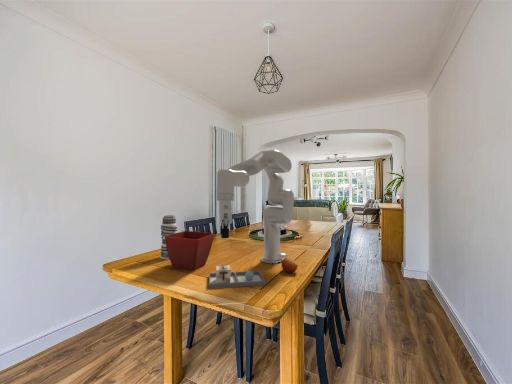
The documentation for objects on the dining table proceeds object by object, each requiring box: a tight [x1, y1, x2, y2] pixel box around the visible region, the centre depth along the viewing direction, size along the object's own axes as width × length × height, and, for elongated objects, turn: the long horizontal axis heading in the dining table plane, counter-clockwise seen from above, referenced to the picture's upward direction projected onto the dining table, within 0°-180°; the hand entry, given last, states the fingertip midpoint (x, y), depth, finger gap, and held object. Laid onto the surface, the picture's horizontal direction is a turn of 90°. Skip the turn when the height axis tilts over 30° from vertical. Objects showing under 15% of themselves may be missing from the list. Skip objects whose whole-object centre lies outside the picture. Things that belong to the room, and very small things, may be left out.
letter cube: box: [215, 264, 232, 283], centre depth 102 cm, size 6×6×6 cm
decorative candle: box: [160, 214, 178, 260], centre depth 138 cm, size 9×9×25 cm
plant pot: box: [165, 230, 215, 271], centre depth 123 cm, size 19×19×17 cm
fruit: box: [281, 257, 299, 274], centre depth 117 cm, size 8×8×8 cm
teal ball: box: [245, 270, 254, 280], centre depth 105 cm, size 4×4×4 cm
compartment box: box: [208, 270, 267, 289], centre depth 104 cm, size 24×13×2 cm, turn 101°
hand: (224, 236), depth 102 cm, fingers open, 9 cm apart
